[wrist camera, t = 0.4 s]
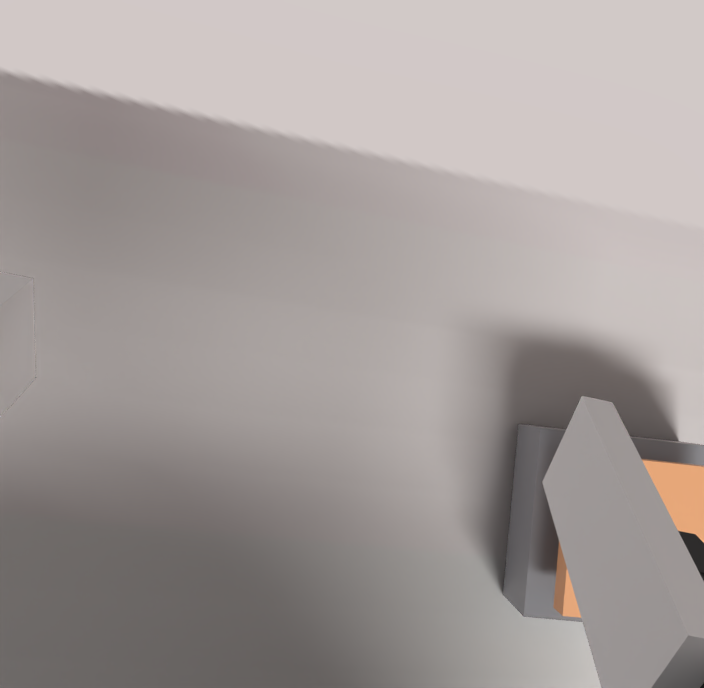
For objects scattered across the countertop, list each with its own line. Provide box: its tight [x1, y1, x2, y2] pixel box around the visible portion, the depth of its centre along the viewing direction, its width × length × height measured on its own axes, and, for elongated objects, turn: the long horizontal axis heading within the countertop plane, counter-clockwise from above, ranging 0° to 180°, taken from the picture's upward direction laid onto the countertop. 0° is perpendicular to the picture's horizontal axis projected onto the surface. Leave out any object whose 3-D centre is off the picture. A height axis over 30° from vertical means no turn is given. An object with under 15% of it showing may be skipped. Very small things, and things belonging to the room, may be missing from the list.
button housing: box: [503, 424, 704, 622], centre depth 30 cm, size 8×8×3 cm
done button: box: [553, 459, 704, 618], centre depth 28 cm, size 6×6×4 cm
